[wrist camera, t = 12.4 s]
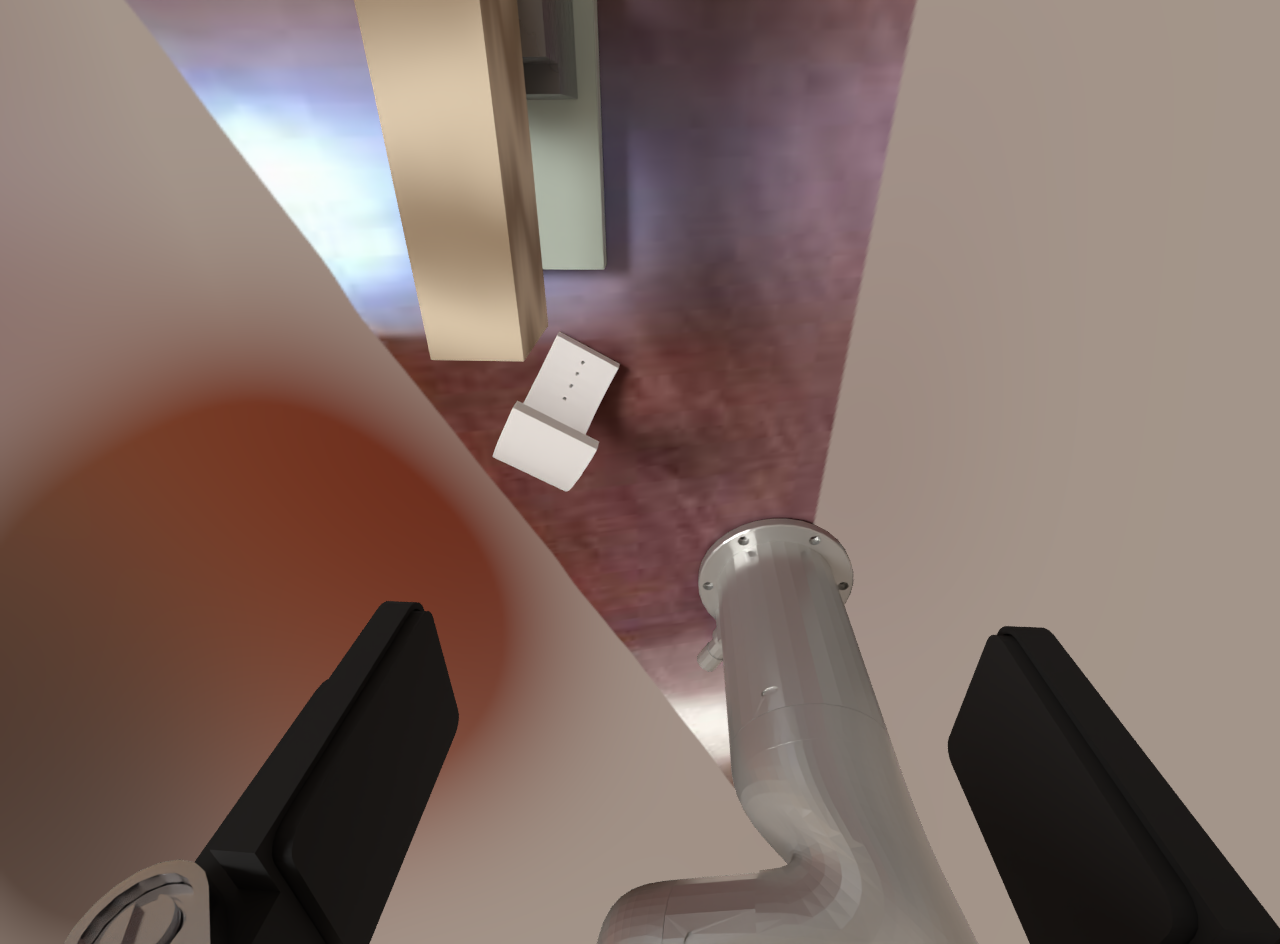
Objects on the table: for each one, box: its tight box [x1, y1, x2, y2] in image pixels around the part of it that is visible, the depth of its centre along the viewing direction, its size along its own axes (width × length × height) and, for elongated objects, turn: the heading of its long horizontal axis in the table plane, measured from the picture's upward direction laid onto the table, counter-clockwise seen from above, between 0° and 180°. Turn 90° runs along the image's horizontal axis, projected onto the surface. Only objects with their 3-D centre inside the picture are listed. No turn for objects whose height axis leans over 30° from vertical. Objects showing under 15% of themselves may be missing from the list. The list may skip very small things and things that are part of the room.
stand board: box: [527, 0, 607, 270], centre depth 28 cm, size 22×8×2 cm, turn 0°
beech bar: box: [354, 0, 548, 361], centre depth 19 cm, size 24×4×5 cm, turn 0°
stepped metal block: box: [517, 0, 578, 100], centre depth 25 cm, size 5×6×8 cm
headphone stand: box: [493, 331, 620, 491], centre depth 34 cm, size 5×6×12 cm
